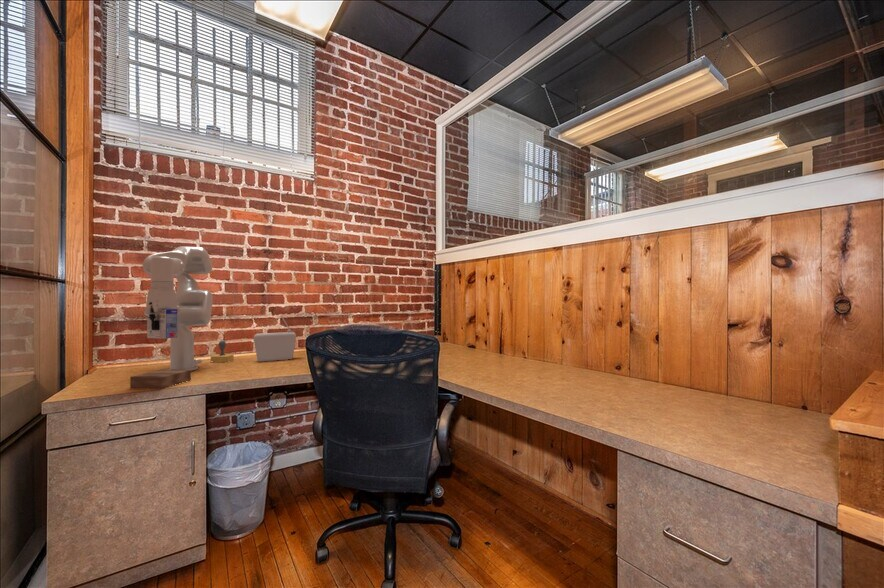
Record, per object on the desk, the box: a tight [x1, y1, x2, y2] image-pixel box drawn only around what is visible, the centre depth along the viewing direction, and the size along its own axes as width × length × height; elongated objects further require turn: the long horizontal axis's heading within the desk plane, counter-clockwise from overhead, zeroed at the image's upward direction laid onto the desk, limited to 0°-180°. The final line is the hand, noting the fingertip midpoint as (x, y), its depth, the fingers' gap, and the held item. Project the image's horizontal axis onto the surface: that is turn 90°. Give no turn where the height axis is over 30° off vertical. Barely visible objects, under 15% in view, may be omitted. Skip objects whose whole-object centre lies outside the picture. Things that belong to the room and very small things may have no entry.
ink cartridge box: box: [146, 309, 177, 339], centre depth 148 cm, size 10×6×14 cm, turn 78°
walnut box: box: [129, 369, 192, 390], centre depth 147 cm, size 14×14×5 cm
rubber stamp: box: [210, 339, 235, 363], centre depth 199 cm, size 10×6×12 cm, turn 86°
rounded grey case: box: [253, 316, 297, 363], centre depth 203 cm, size 22×8×25 cm, turn 116°
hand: (162, 328), depth 148 cm, fingers closed on ink cartridge box, 5 cm apart
